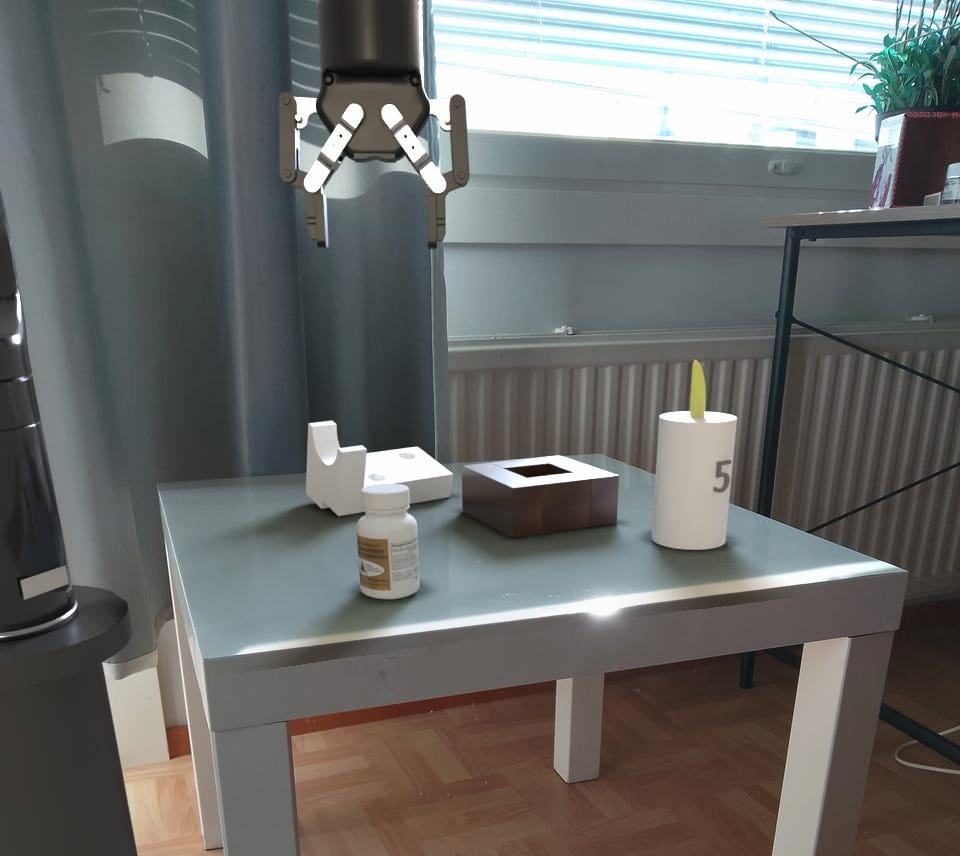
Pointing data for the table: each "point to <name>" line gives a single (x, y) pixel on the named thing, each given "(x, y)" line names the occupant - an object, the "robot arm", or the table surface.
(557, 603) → the table surface
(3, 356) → the robot arm
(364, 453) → the bracket
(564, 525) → the socket
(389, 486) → the pill bottle
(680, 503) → the candle
